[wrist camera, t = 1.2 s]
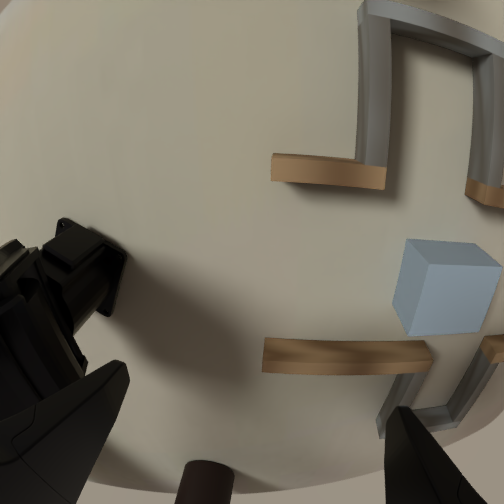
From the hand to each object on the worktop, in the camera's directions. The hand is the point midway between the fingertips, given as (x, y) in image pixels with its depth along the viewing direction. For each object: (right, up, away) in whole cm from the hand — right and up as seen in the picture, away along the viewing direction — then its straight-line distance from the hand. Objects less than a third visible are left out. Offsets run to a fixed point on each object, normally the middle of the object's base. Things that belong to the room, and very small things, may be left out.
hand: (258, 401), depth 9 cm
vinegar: (-6, -25, +25) cm, 35 cm away
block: (+13, +3, +10) cm, 17 cm away
